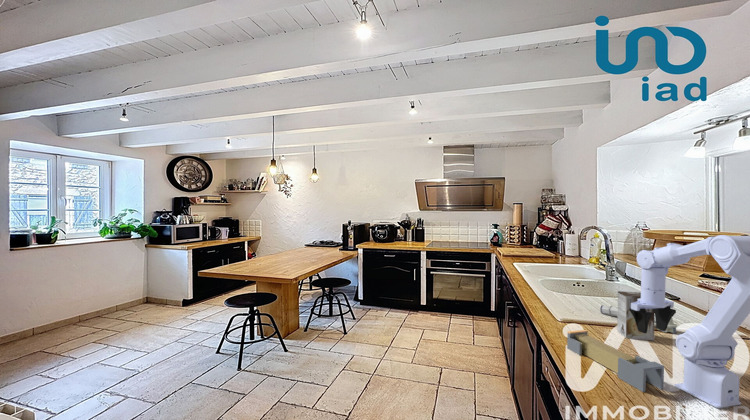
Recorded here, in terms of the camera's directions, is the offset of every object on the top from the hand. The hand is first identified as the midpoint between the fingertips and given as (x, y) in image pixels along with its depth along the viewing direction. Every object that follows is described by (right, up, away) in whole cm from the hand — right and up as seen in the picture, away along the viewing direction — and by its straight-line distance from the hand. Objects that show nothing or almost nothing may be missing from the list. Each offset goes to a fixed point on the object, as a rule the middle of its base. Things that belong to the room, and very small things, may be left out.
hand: (651, 331), depth 98 cm
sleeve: (-13, -10, -11) cm, 20 cm away
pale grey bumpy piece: (+22, -9, +32) cm, 40 cm away
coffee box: (+11, -10, +19) cm, 24 cm away
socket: (-17, -10, +7) cm, 21 cm away
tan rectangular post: (-16, -10, 0) cm, 18 cm away
